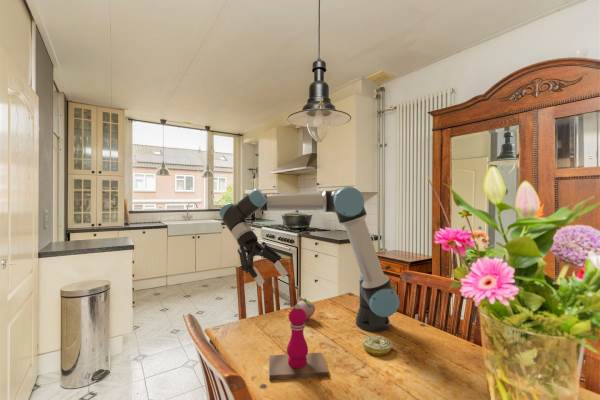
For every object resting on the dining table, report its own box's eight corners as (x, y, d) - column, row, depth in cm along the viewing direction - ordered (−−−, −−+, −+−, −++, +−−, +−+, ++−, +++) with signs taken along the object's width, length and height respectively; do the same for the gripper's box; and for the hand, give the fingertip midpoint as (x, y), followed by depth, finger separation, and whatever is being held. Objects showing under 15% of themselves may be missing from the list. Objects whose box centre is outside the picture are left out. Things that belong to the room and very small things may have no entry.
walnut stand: (321, 356, 106) (321, 352, 106) (328, 376, 94) (328, 371, 94) (269, 359, 104) (269, 355, 104) (269, 380, 92) (269, 375, 92)
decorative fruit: (292, 318, 141) (292, 297, 141) (305, 314, 146) (305, 294, 146) (304, 324, 134) (304, 303, 134) (317, 320, 139) (318, 299, 139)
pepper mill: (305, 370, 95) (306, 308, 95) (284, 367, 97) (284, 307, 97) (309, 358, 102) (309, 301, 102) (289, 356, 104) (289, 299, 104)
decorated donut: (396, 349, 112) (396, 340, 112) (383, 361, 104) (383, 350, 104) (372, 340, 119) (372, 331, 119) (358, 350, 111) (358, 340, 111)
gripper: (260, 239, 128) (288, 278, 120) (215, 246, 108) (245, 294, 99) (270, 227, 125) (299, 267, 117) (225, 232, 105) (256, 281, 96)
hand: (274, 279), depth 108 cm, fingers open, 13 cm apart
